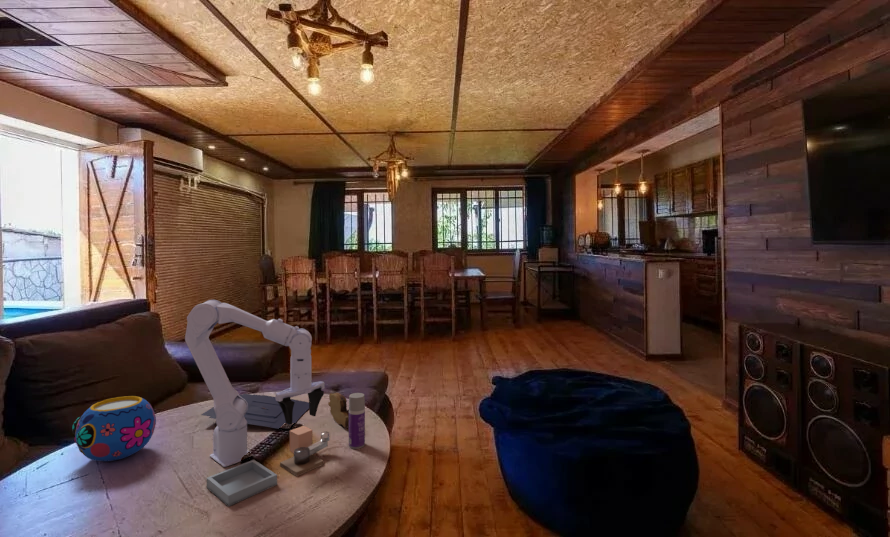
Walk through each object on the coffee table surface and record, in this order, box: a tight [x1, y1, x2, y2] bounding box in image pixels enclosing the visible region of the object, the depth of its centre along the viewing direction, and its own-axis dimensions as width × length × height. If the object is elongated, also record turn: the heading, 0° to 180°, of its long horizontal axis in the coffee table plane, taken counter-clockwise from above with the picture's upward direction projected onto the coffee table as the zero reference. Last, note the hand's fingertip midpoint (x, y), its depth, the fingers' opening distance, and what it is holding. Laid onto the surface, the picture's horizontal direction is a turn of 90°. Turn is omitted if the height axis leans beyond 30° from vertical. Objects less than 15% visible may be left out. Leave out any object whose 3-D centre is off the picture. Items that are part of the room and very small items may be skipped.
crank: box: [293, 430, 330, 464], centre depth 116 cm, size 12×4×4 cm, turn 151°
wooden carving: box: [328, 392, 349, 429], centre depth 140 cm, size 16×5×10 cm, turn 40°
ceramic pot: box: [71, 395, 157, 462], centre depth 116 cm, size 18×18×15 cm
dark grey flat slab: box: [200, 393, 309, 430], centre depth 146 cm, size 24×30×4 cm
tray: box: [206, 459, 278, 507], centre depth 102 cm, size 12×12×2 cm
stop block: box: [289, 425, 313, 454], centre depth 121 cm, size 4×4×6 cm
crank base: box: [279, 454, 324, 477], centre depth 112 cm, size 8×8×1 cm
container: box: [348, 392, 366, 450], centre depth 124 cm, size 5×5×15 cm
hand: (301, 419), depth 120 cm, fingers open, 7 cm apart
